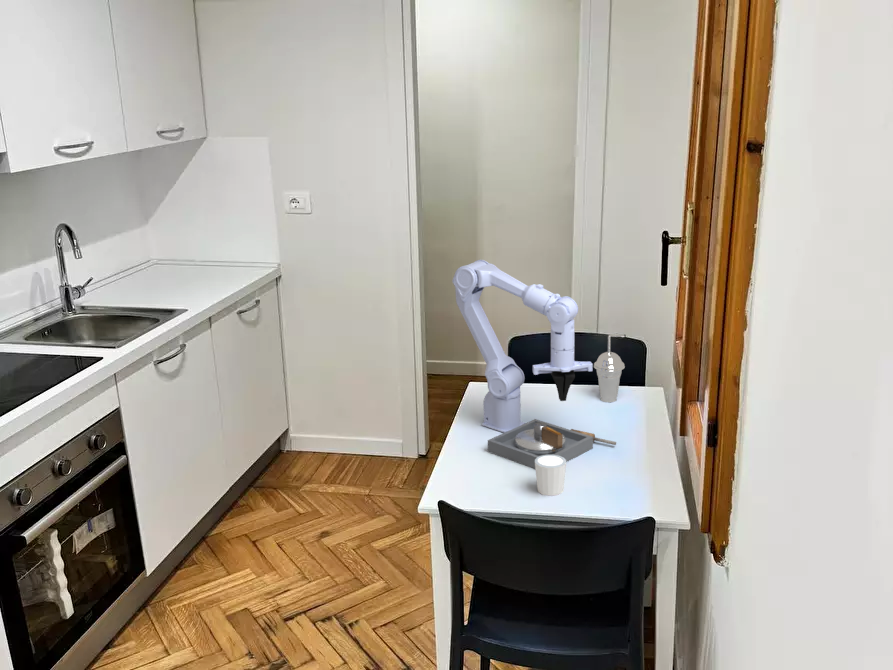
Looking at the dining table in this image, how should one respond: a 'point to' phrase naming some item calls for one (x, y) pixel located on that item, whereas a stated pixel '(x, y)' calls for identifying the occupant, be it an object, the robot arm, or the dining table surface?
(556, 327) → the robot arm
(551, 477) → the white fluted cup
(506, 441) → the tray
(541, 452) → the dial
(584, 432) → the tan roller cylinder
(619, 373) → the cup with straw
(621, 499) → the dining table surface
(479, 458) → the dining table surface
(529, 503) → the dining table surface
